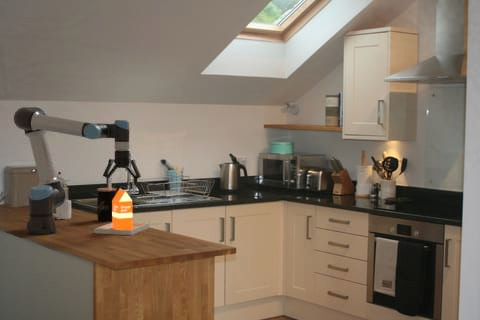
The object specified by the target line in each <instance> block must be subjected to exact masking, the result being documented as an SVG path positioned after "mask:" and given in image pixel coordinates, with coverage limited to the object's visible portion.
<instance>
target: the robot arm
mask: <svg viewBox="0 0 480 320" xmlns="http://www.w3.org/2000/svg"><path fill="white" fill-rule="evenodd" d="M13 123H14V124H15V126H16V127H17V128H18V129H20V130H23V131H24V135H25V136H26V137H28V138H29V143H30V146H31V150H32V155H33V158H34V163H35V167H36V169H37V175H38V179H39V182H38V185H35V186H31V187H30V189H29V190H28V214H29V218H28V220H27V224H26V227H25V233H26V234H28V235H49V234H50V235H51V234H55V233H57V231H58V228H57V224H56V221H55V219H54V216H53V213H54V209H56V208H57V207H59V206H61V205H62V204H63V203H64V202H65V201H66V200H67V198H68V194H67V193H68V192H67V190H66V189H65V187H64V186H62V183H61V182H62V181H61V180H60V179H59V178H58V177H57V174H56V172H55V167H54V162H53V158H52V155H51V151H50V147H49V143H48V138H47V134H46V133H48V132H52V133H59V134H64V135H71V136H75V137H81V138H85V139H88V140H98V139H114V159H113V158H109V159H108V163H107V166H106V167H105V169H104V172H103V174H102V176H103V177H104V178H106V184H107V188H108V191H110V190H112V188H113V187H112V184H113V183H112V175H114V173H115V172H116V170H117V169H126V170H127V172H128V173H129V174H130V175H131V176H132V179H131V181H132V182H131V183H132V187H131V191H132V192H133V193H134V192H137V185H138V179H140V178H141V177H142V175H141V173H140V171H139V168H138V166H137V164H136V160H135V159H130V151H129V149H130V130H131V129H130V122H129V120H128V119H127V120H126V119H115V120H114V122H113V123H100V122H99V123H94V122H93V123H92V122H91V123H90V122H86V121H80V120H74V119H68V118H63V117H58V116H51V115H48V114H47V112H46V111H45V110H44V109H43V108H41V107H36V106H33V107H31V106H30V107H29V106H28V107H27V106H25V107H24V106H23V107H20V108H18V109H17V110H16V111H15V113H14V115H13ZM113 164H114V165H113ZM130 165H131V166H130ZM112 166H113V167H112ZM111 167H112V168H111Z"/></svg>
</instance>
